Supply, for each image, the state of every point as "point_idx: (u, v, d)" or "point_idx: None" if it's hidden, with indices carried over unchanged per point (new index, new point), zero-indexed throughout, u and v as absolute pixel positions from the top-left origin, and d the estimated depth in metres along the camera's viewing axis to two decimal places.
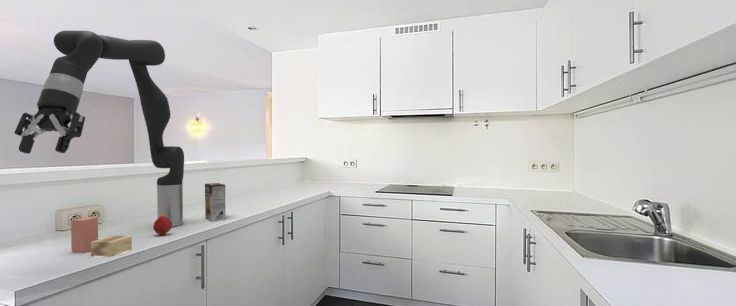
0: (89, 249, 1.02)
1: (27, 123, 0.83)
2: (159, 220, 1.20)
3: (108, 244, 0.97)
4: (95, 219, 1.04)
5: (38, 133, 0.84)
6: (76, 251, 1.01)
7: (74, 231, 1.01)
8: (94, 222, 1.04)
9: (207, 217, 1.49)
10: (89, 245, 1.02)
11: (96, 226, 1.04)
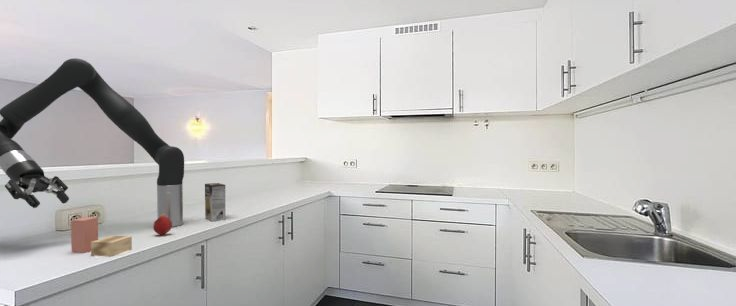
0: (89, 249, 1.02)
1: (55, 184, 1.11)
2: (159, 220, 1.20)
3: (108, 244, 0.97)
4: (95, 219, 1.04)
5: (54, 188, 1.08)
6: (76, 251, 1.01)
7: (74, 231, 1.01)
8: (94, 222, 1.04)
9: (207, 217, 1.49)
10: (89, 245, 1.02)
11: (96, 226, 1.04)
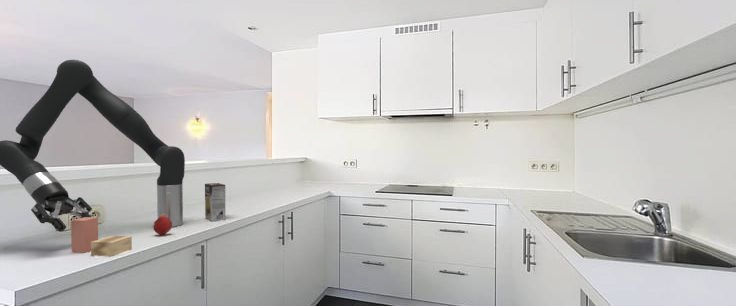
0: (89, 249, 1.02)
1: (80, 205, 1.10)
2: (159, 220, 1.20)
3: (108, 244, 0.97)
4: (95, 219, 1.04)
5: (78, 210, 1.07)
6: (76, 251, 1.01)
7: (74, 231, 1.01)
8: (94, 222, 1.04)
9: (207, 217, 1.49)
10: (89, 245, 1.02)
11: (96, 226, 1.04)
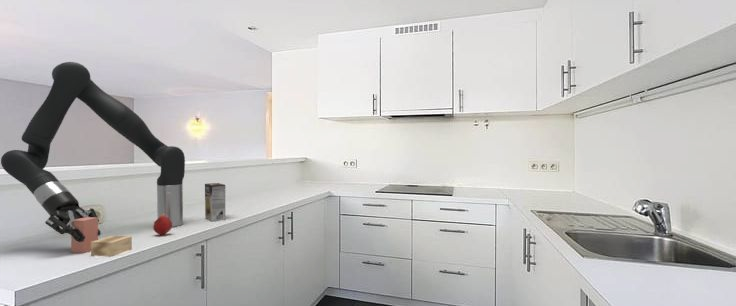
0: (89, 249, 1.02)
1: None
2: (159, 220, 1.20)
3: (108, 244, 0.97)
4: (95, 219, 1.04)
5: None
6: (76, 251, 1.01)
7: None
8: (94, 222, 1.04)
9: (207, 217, 1.49)
10: (89, 245, 1.02)
11: (96, 226, 1.04)
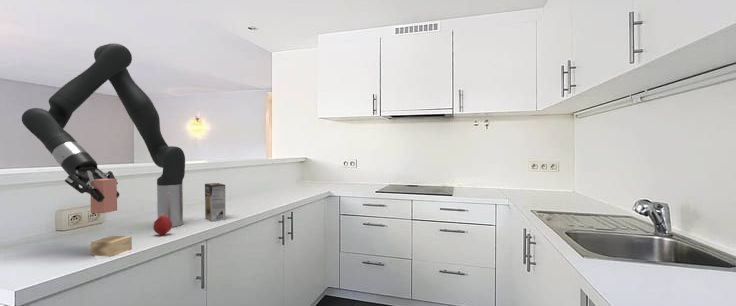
0: (108, 210, 1.01)
1: None
2: (159, 220, 1.20)
3: (108, 244, 0.97)
4: (114, 180, 1.02)
5: None
6: (95, 211, 0.99)
7: None
8: (113, 182, 1.02)
9: (207, 217, 1.49)
10: (108, 206, 1.01)
11: (115, 187, 1.03)
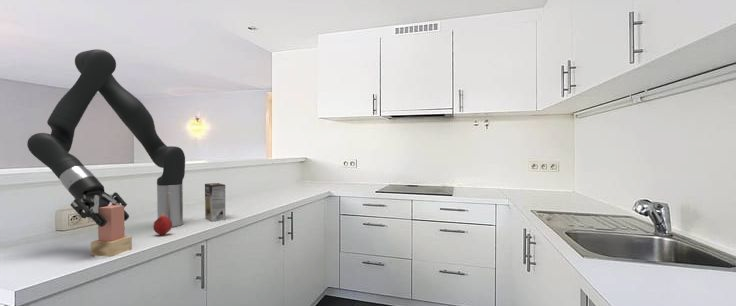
0: (116, 237, 1.00)
1: None
2: (159, 220, 1.20)
3: (108, 244, 0.97)
4: (121, 207, 1.02)
5: None
6: (103, 239, 0.99)
7: None
8: (121, 210, 1.02)
9: (207, 217, 1.49)
10: (116, 233, 1.00)
11: (122, 214, 1.03)
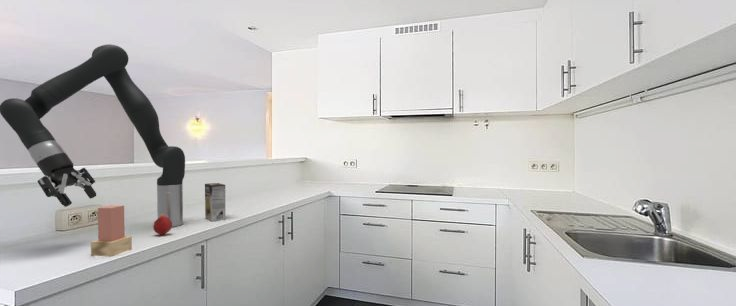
0: (116, 237, 1.00)
1: (83, 176, 1.10)
2: (159, 220, 1.20)
3: (108, 244, 0.97)
4: (121, 207, 1.02)
5: None
6: (103, 239, 0.99)
7: (101, 219, 0.99)
8: (121, 210, 1.02)
9: (207, 217, 1.49)
10: (116, 233, 1.00)
11: (122, 214, 1.03)
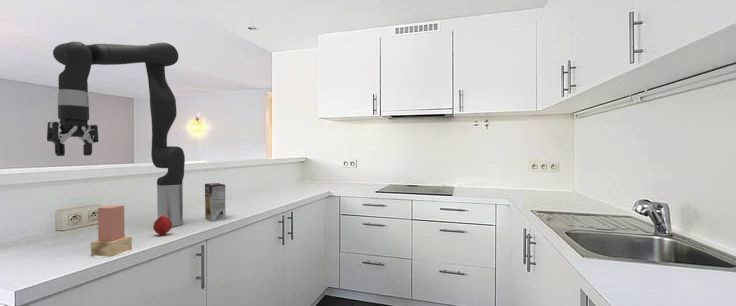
0: (116, 237, 1.00)
1: (90, 132, 1.11)
2: (159, 220, 1.20)
3: (108, 244, 0.97)
4: (121, 207, 1.02)
5: (86, 139, 1.09)
6: (103, 239, 0.99)
7: (101, 219, 0.99)
8: (121, 210, 1.02)
9: (207, 217, 1.49)
10: (116, 233, 1.00)
11: (122, 214, 1.03)
